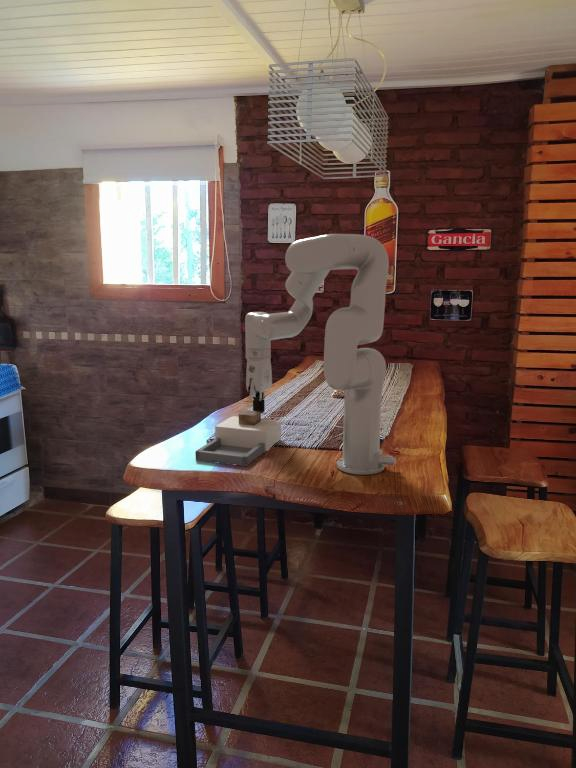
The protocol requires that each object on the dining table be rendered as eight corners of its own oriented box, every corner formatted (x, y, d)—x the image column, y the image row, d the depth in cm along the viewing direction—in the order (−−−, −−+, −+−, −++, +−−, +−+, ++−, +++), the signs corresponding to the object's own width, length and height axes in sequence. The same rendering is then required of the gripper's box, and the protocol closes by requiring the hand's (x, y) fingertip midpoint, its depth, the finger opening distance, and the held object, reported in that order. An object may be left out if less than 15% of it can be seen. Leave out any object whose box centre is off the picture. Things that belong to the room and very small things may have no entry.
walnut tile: (260, 421, 180) (260, 411, 179) (254, 425, 175) (254, 415, 175) (245, 419, 182) (245, 410, 181) (238, 424, 177) (238, 414, 176)
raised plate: (280, 439, 182) (280, 420, 181) (266, 452, 171) (266, 431, 169) (232, 434, 187) (232, 416, 186) (215, 445, 176) (215, 426, 175)
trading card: (351, 428, 193) (324, 443, 178) (351, 430, 193) (324, 444, 179) (322, 423, 199) (293, 437, 184) (322, 425, 199) (293, 439, 184)
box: (264, 451, 171) (264, 443, 170) (246, 466, 159) (246, 457, 158) (216, 446, 176) (216, 437, 175) (195, 460, 164) (195, 451, 163)
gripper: (260, 358, 173) (260, 419, 176) (278, 350, 186) (278, 407, 190) (236, 356, 175) (237, 417, 179) (256, 349, 189) (256, 405, 193)
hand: (258, 412), depth 185 cm, fingers closed
